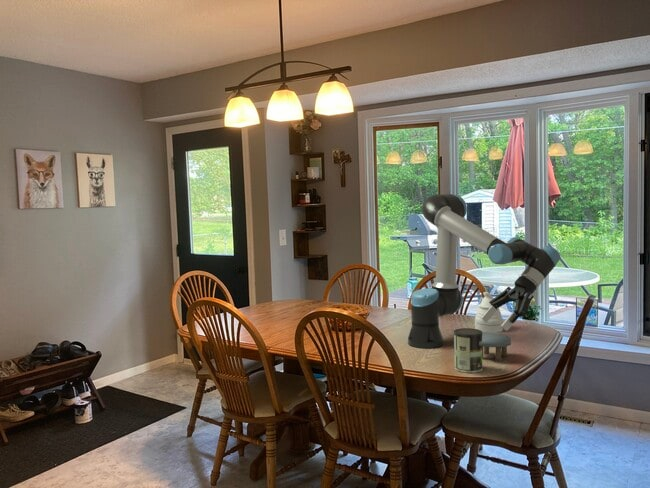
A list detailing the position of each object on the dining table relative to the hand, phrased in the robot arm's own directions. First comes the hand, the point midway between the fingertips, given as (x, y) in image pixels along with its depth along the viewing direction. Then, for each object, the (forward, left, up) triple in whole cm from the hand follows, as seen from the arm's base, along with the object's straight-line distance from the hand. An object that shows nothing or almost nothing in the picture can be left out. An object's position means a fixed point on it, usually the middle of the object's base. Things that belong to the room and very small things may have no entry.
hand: (493, 324), depth 197 cm
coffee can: (-7, -8, -16) cm, 19 cm away
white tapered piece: (-20, +53, -16) cm, 59 cm away
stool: (-4, +10, -16) cm, 19 cm away
